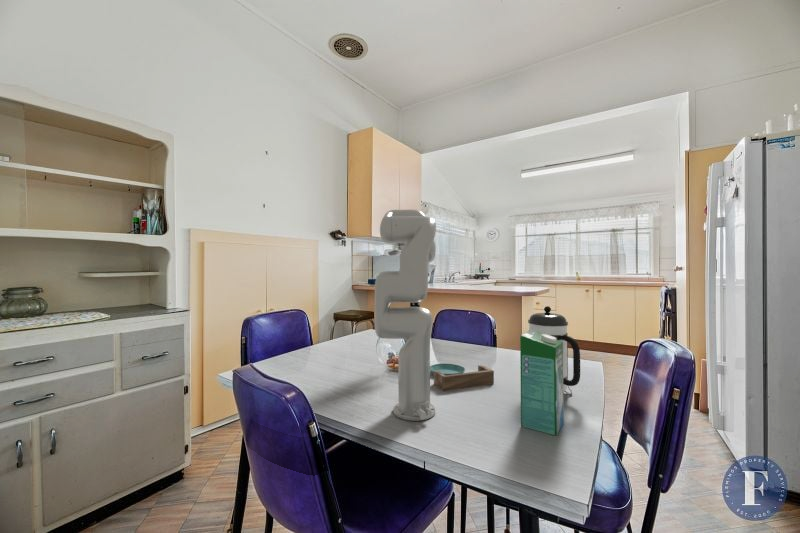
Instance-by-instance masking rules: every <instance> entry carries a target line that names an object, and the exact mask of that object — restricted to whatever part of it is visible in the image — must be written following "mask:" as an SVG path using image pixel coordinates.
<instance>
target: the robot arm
mask: <svg viewBox="0 0 800 533" xmlns="http://www.w3.org/2000/svg"><path fill="white" fill-rule="evenodd" d="M436 232H437V223H436V221H435V219H434V218H432V217H429V216H426V215H425V214H424V213H423V212H422V211H421V210H419V209H390V210H388V211H387V212H386V213H384V215H383V217H382V219H381V221H380V225H379V234H380V238H381V240H382V241H383V242H384V243H386V244H405V245H404V246H402V248H401V249H400V254H399V270H387V271H381V272H379V273H378V275H377V276H376V279H375V282H374V283H375V284H374V331H375V335H376V336H377V337H378V338H381V339H387V340H388V339H391V340H392V339H394V340H397V339H398V340H400V339H401V340H406V342H405V343H403V345H402V346H401V348H400V349H399V351H398V359H397V360H398V361H397V363H398V365H397V366H398V373H397V374H398V375H397V376H398V382H397V383H398V403H396V404H395V405H394V406H393V411H392V412H393V414H394V416H396V417H397V418H399V419H400V420H401V419H402V420H405V421H409V422H410V421H412V422H418V421H425V420H428V419H430V418H433V417H434V416H435V415H436V407H435V406H434V404H432V403H431V371H430V366H431V341H432V340H431V339H432V332H433V331H432V330H433V325H434V322H433V320H434V319H433V314H432V312H431V311H430V310H429V309H428V308H426V307H421V306H420V303H421V302H424V301H426V299H427V295H428V293H429V292H428V289H429V263H431V262H433V261H434V259H435V257H436V251H437V249H436V247H437V246H436V243H435V237H436ZM393 303H400V304H402V303H403V304H405V303H409V306H390V305H391V304H393Z"/></svg>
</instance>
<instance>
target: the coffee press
mask: <svg viewBox="0 0 800 533" xmlns="http://www.w3.org/2000/svg"><path fill="white" fill-rule="evenodd" d="M543 311H544V312H538V313H533V314H531V316H530V317H529V318H528V320H527V323H528V329H529V330H528V331H533V332H536V333H539V334H547V335H551V336H553V337H555V338H557V340H559V341H562V342H563V393H566V394H567V396H572V395H573V391H572V389H571V388H570V387H575V386H577V385H578V384H579V382H580V380H581V350H580V347H579V344H578V342H577V340H576V339H575V338H573V337H572V336H569V335H568V332H567V331H568V329H567V328H568V326H569V322H568V321H567V319H566V317H565V316H563V315H561V314H559V313H552V312H551V311H552V309H551V307H550V306H545V307H544V308H543ZM569 345H570V346H571V348H572V354H573V356H572V361H573V365H572V367H573V369H572V370H573V371H572V372H573V376H572V379H570V380H569V360H568V359H569V355H568V354H569V348H568V346H569ZM567 389H568V390H569V391H570V393H569V392H567Z"/></svg>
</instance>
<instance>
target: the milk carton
mask: <svg viewBox="0 0 800 533" xmlns="http://www.w3.org/2000/svg"><path fill="white" fill-rule="evenodd" d="M519 339H520V341H519V345H520V346H519V347H520V426H521V427H524V428H527V429H530V430H535V431H537V432H542V433H545V434H549V435H552V436H553V435H554V436H558V434H559V432H560V429H562V426H563V425H564V421H565V419H564V415H565V414H564V413H565V412H564V391H563V342H562V341H559V340H557V338H555V337H553V336H551V335H547V334H539V333H536V332H533V331H529V330H528V331H526V332H524V333H523V334H521V335H520V337H519Z"/></svg>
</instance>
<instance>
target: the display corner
mask: <svg viewBox="0 0 800 533" xmlns="http://www.w3.org/2000/svg"><path fill="white" fill-rule="evenodd" d="M494 373H495V370H493V369H491V368H489V367H487V366H484V365H482V364H478V365H477V371H469V372H464V373H461V374H453V375H444V374H443V373H441V372H439V371H438V370H436V371H434V374H433V385H434V386H436V387H437V388H438V389H440V390H442V392H449V391H455V390H462V389H471V388H478V387H483V386H490V385H494V384H495V380H494V379H495V378H494V376H495V374H494Z"/></svg>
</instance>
